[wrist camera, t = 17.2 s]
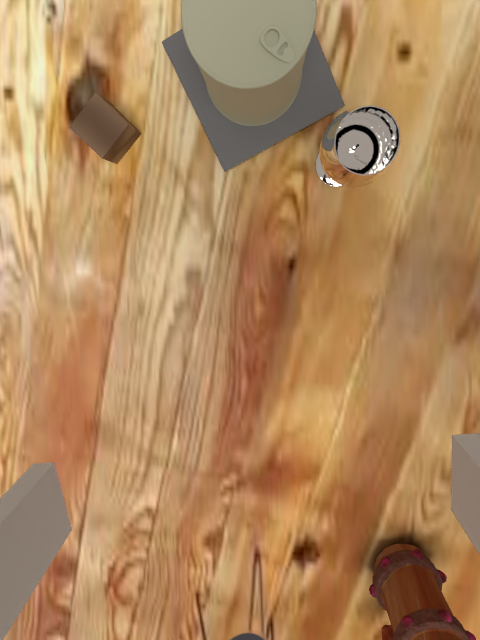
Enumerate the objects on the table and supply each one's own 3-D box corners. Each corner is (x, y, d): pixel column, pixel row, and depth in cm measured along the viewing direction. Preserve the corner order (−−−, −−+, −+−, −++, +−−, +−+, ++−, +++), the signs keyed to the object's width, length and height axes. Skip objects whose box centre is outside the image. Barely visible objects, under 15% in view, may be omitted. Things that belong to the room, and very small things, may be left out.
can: (255, 147, 39) (251, 117, 27) (185, 79, 38) (150, 17, 26) (322, 68, 37) (348, 0, 25) (250, -7, 36) (243, -114, 24)
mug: (380, 523, 50) (427, 648, 35) (442, 540, 50) (514, 672, 35) (344, 609, 54) (372, 754, 39) (401, 624, 54) (451, 775, 39)
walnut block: (111, 104, 40) (95, 92, 36) (141, 133, 40) (128, 124, 36) (88, 135, 41) (69, 127, 37) (117, 163, 41) (102, 158, 37)
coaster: (286, -32, 36) (286, -38, 35) (343, 107, 38) (344, 105, 38) (163, 45, 38) (161, 41, 37) (225, 172, 41) (224, 171, 40)
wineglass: (307, 193, 41) (323, 183, 29) (310, 132, 39) (329, 96, 28) (363, 194, 40) (403, 184, 29) (369, 133, 39) (413, 96, 27)
